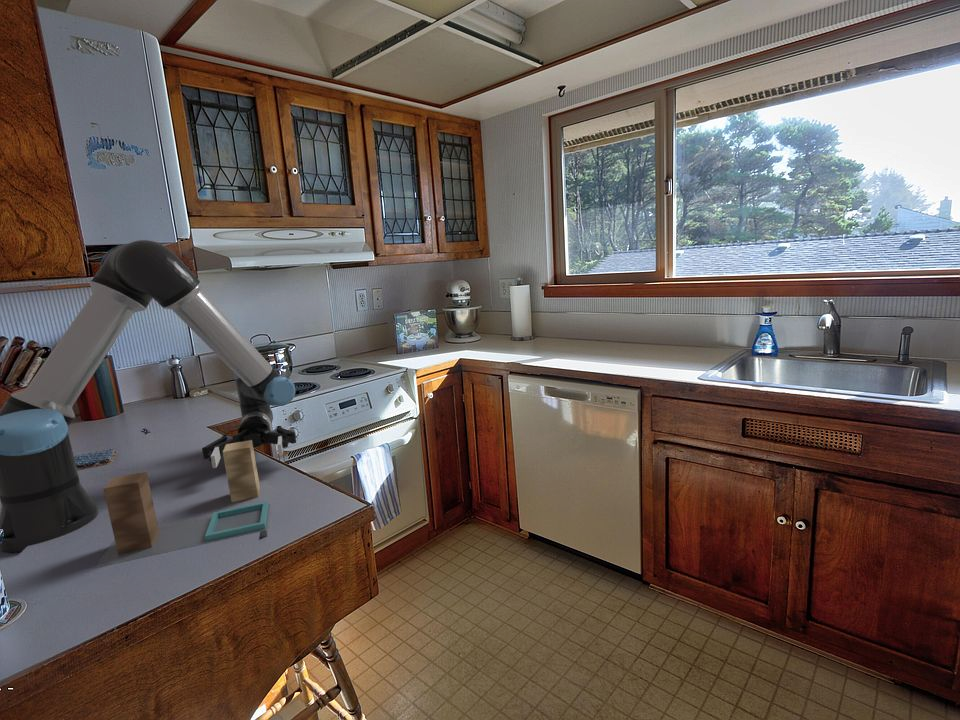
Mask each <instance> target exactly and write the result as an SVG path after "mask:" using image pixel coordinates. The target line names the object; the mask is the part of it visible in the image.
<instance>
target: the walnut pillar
mask: <svg viewBox="0 0 960 720" xmlns="http://www.w3.org/2000/svg"><path fill="white" fill-rule="evenodd" d="M102 490H103V494H104V498H105V503H106V507H107V511H108V515H109V520H110V525H111V528H112V534H113V538H114V540H115V542H116V547H117V551H118V555H119V554H124V553H129V552H133V551H138V550H142V549H147V548H152V547H153V545H154V543H155V541H156V539H157V538H158V536H159V534H160V533H159V528H158V527H159V525H158V520H157V515H156V510H155V505H154V500H153V496H152V492H151V486H150V482H149V477H148V473H147V471H143V472H137V473H133V474H132V473H131V474H127V475H126V474H125V475H120V476H116V477H112V478H111V480H110V481H109V482H108V483H106V485H105V486H104V487H103V489H102Z"/></svg>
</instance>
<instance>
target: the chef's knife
mask: <svg viewBox="0 0 960 720" xmlns="http://www.w3.org/2000/svg"><path fill="white" fill-rule="evenodd" d="M142 430H144V431H146V432H145V434H146V433H147V434H148V433H152V432H151V431H149V430H148V429H147V428H143V429H142ZM144 431H143V432H144Z"/></svg>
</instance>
